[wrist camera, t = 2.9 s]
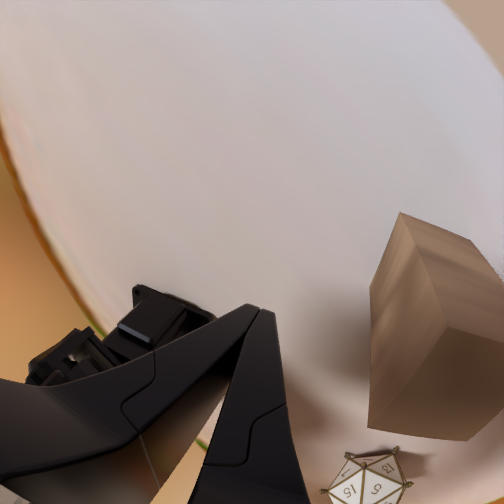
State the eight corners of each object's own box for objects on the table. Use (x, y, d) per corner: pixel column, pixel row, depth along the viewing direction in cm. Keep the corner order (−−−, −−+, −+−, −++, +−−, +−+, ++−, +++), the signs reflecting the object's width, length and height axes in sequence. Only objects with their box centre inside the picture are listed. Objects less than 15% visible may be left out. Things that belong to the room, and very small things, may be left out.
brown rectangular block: (436, 308, 15) (466, 441, 7) (369, 286, 15) (367, 427, 8) (470, 240, 12) (547, 356, 5) (399, 211, 13) (447, 326, 6)
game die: (393, 425, 24) (442, 489, 16) (336, 469, 26) (375, 531, 18) (357, 427, 20) (418, 515, 11) (286, 476, 21) (330, 558, 13)
